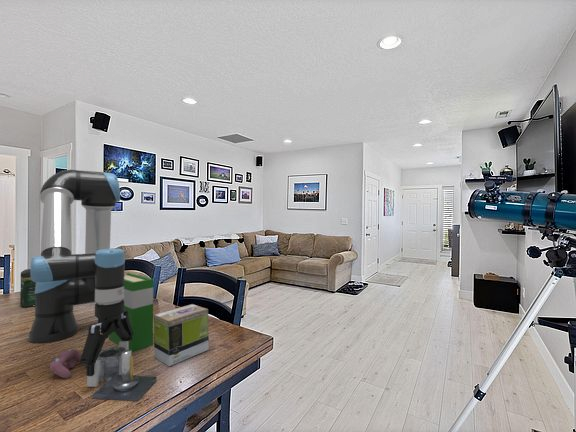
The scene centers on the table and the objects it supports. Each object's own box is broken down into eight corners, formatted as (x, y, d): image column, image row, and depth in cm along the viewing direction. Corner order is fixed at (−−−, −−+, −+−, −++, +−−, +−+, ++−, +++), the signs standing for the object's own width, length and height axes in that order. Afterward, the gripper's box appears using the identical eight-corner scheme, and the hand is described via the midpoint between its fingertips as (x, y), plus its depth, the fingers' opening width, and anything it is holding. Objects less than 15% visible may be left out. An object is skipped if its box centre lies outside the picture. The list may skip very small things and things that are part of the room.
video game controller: (76, 367, 93) (66, 348, 93) (90, 360, 94) (80, 341, 93) (55, 385, 83) (43, 364, 83) (70, 377, 84) (58, 356, 83)
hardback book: (109, 339, 111) (109, 276, 111) (129, 333, 117) (129, 273, 117) (132, 352, 100) (132, 282, 100) (152, 345, 106) (153, 279, 106)
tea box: (193, 342, 109) (193, 302, 109) (209, 350, 102) (209, 308, 102) (152, 357, 97) (153, 313, 97) (168, 367, 91) (168, 320, 91)
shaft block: (93, 398, 75) (93, 358, 75) (116, 378, 84) (116, 343, 84) (137, 401, 74) (137, 361, 74) (156, 381, 83) (156, 345, 83)
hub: (84, 380, 83) (85, 359, 83) (105, 365, 91) (105, 346, 91) (112, 382, 82) (113, 361, 82) (131, 366, 91) (131, 347, 91)
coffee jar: (43, 305, 151) (43, 269, 151) (22, 309, 144) (23, 271, 144) (38, 301, 157) (38, 267, 156) (18, 305, 150) (18, 269, 150)
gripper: (90, 315, 74) (89, 399, 74) (145, 290, 99) (144, 353, 99) (62, 314, 75) (62, 397, 75) (124, 290, 100) (123, 352, 100)
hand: (109, 373), depth 87 cm, fingers open, 13 cm apart
